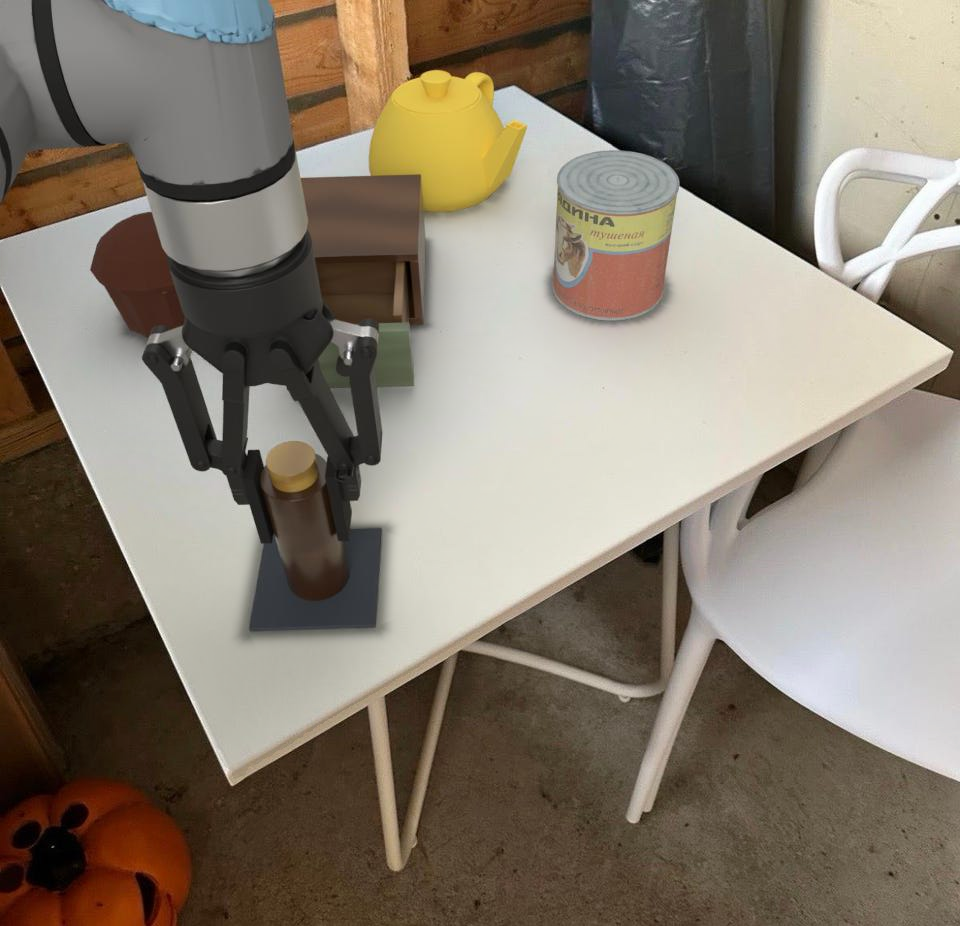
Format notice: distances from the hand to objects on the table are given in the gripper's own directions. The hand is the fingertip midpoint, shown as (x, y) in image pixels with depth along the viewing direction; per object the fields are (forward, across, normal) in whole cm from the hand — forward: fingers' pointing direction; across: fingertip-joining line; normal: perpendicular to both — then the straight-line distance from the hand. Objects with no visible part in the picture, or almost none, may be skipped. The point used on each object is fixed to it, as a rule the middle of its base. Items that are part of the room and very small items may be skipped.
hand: (307, 526), depth 65 cm
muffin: (+6, +18, -34) cm, 39 cm away
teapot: (+6, -11, -58) cm, 59 cm away
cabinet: (+6, -1, -38) cm, 38 cm away
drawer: (+5, -1, -27) cm, 27 cm away
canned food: (+6, -26, -36) cm, 45 cm away
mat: (+6, 0, 0) cm, 6 cm away
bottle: (+6, 0, 0) cm, 6 cm away
